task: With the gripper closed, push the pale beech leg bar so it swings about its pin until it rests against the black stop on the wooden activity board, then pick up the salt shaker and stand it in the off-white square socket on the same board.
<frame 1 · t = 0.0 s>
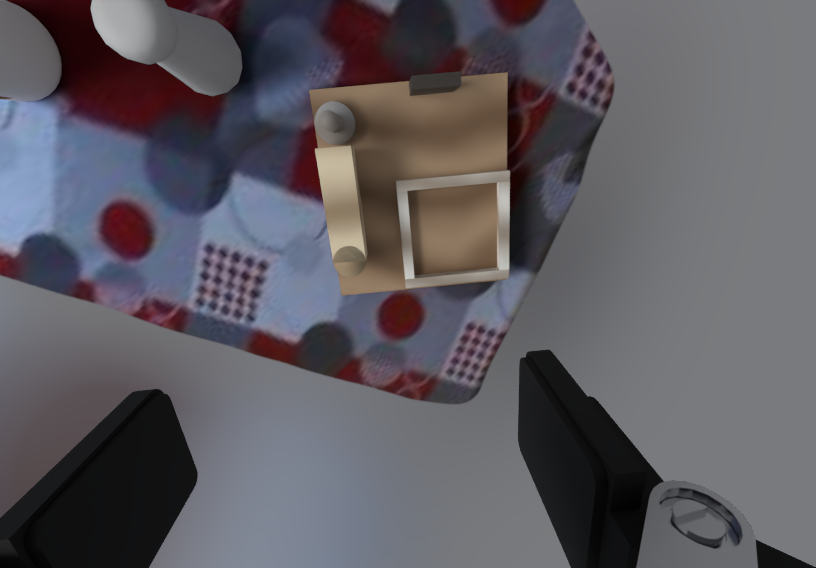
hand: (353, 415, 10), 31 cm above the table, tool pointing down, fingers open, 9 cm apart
salt shaker: (219, 63, 34), on the table
milk bottle: (20, 54, 33), on the table
wooden activity board: (416, 192, 39), on the table
leg: (344, 213, 35), point 4 cm above the table, hinge at 0.0°
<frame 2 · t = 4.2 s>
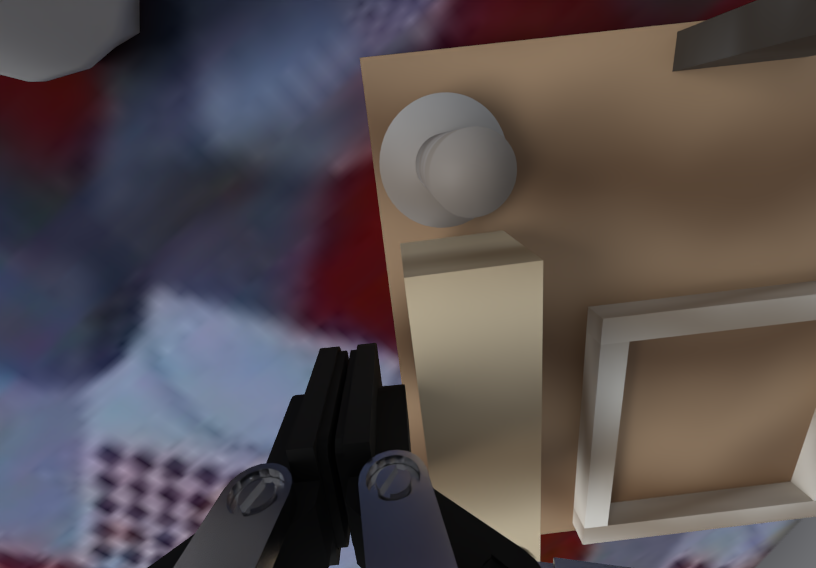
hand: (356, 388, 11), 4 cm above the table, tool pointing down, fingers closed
wooden activity board: (615, 319, 15), on the table
leg: (473, 431, 11), point 5 cm above the table, hinge at 0.8°, touching gripper
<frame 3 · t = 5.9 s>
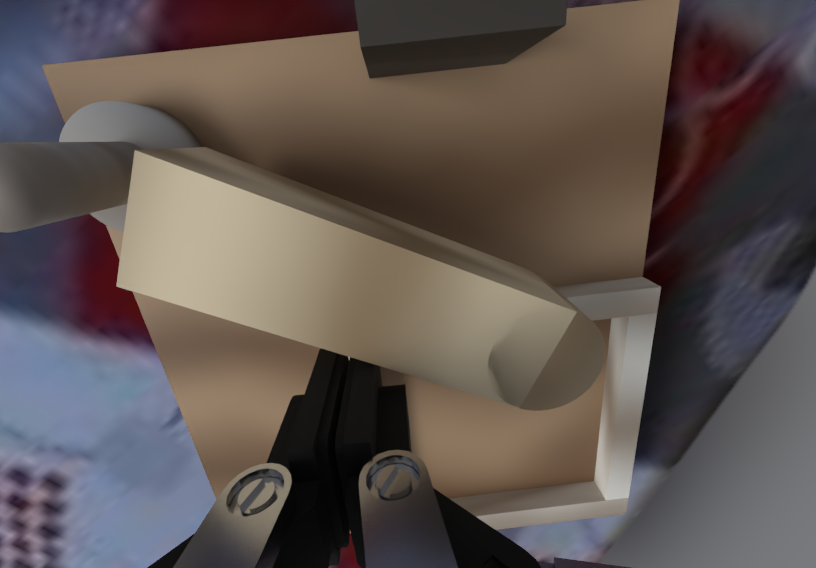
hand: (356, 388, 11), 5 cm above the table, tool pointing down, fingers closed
wooden activity board: (400, 322, 16), on the table
leg: (388, 286, 10), point 5 cm above the table, hinge at 62.7°, touching gripper
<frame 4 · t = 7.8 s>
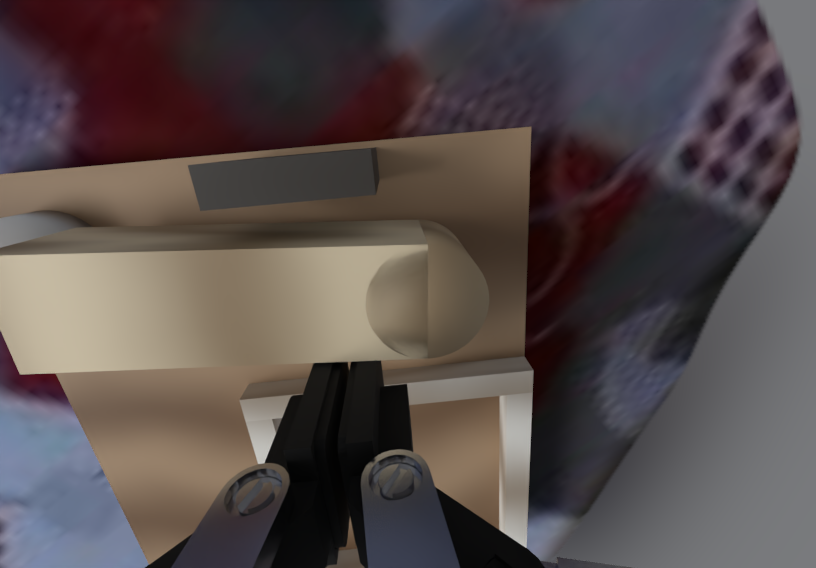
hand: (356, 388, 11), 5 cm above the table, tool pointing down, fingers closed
wooden activity board: (313, 387, 17), on the table
leg: (268, 287, 10), point 4 cm above the table, hinge at 86.0°
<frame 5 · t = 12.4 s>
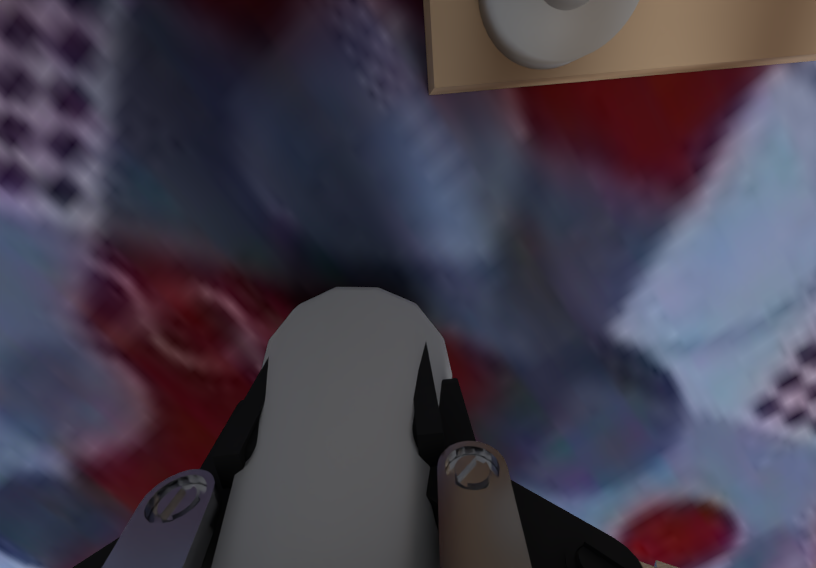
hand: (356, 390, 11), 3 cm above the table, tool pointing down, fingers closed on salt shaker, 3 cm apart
salt shaker: (363, 335, 14), on the table, touching gripper
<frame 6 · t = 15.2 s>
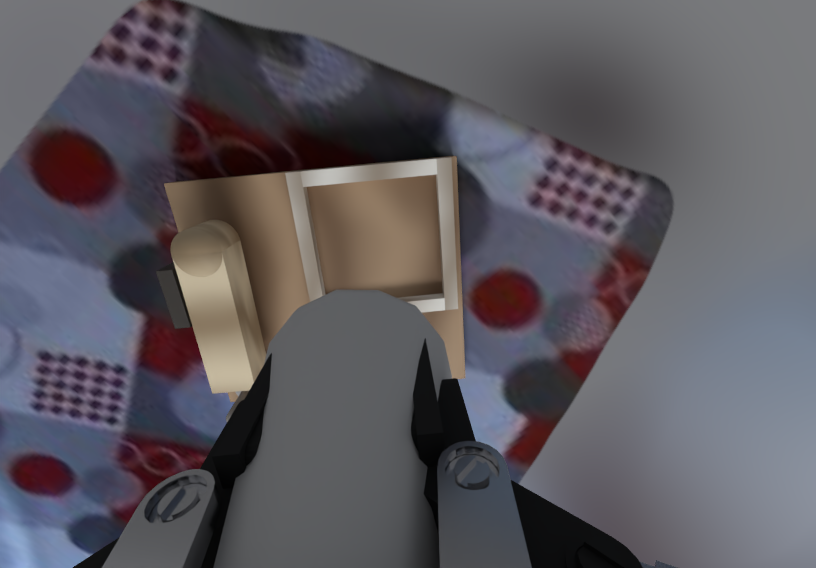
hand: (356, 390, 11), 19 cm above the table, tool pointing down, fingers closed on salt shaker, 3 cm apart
salt shaker: (364, 337, 14), point 16 cm above the table, touching gripper
wooden activity board: (334, 285, 30), on the table
leg: (223, 307, 26), point 4 cm above the table, hinge at 88.7°
when the fingers open (6 cm above the table, at t = 17.9 s): salt shaker drops 1 cm, resting on wooden activity board.
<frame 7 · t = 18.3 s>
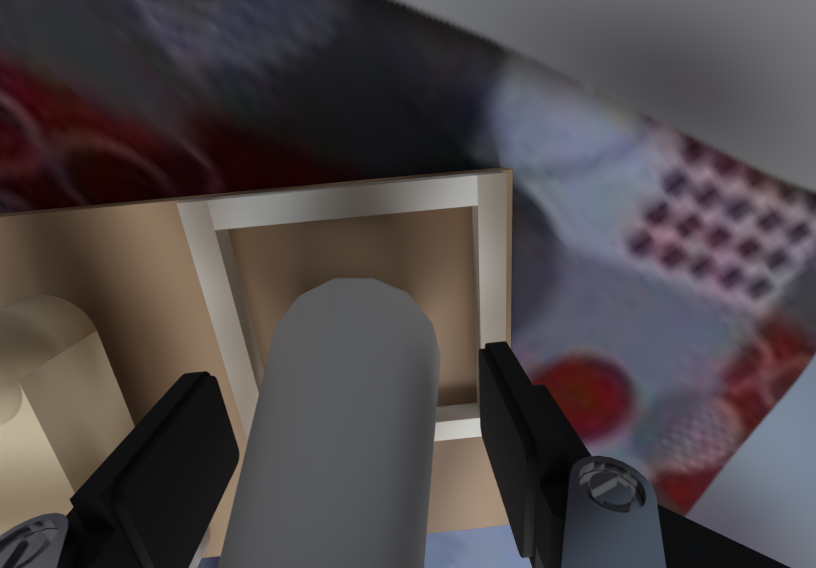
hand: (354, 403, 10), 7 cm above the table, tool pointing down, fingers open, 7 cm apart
salt shaker: (361, 325, 15), point 1 cm above the table, touching wooden activity board
wooden activity board: (292, 383, 18), on the table
leg: (65, 460, 13), point 5 cm above the table, hinge at 88.7°
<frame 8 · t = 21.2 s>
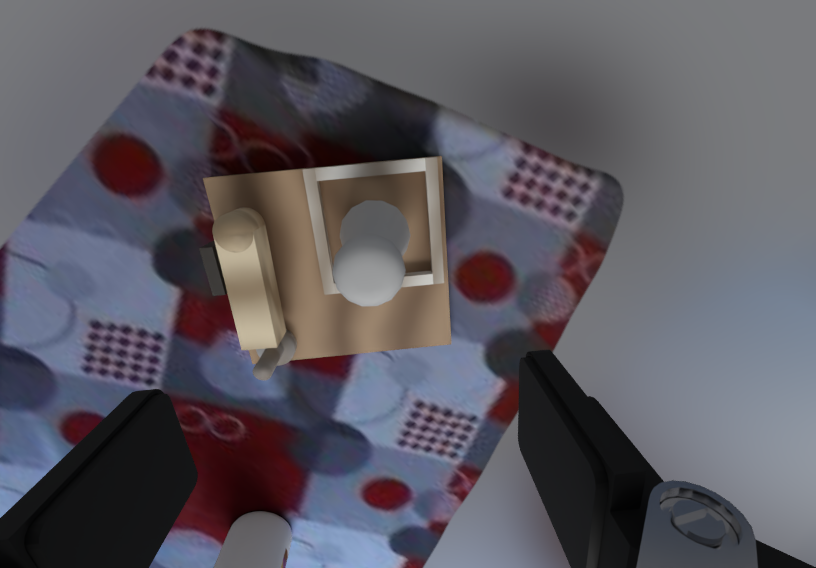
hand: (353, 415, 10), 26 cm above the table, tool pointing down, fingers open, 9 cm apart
salt shaker: (376, 228, 34), point 1 cm above the table, touching wooden activity board
milk bottle: (263, 529, 48), on the table
wooden activity board: (340, 264, 36), on the table
leg: (251, 279, 31), point 5 cm above the table, hinge at 88.7°
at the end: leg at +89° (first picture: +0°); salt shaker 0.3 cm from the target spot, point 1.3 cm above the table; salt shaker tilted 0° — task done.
